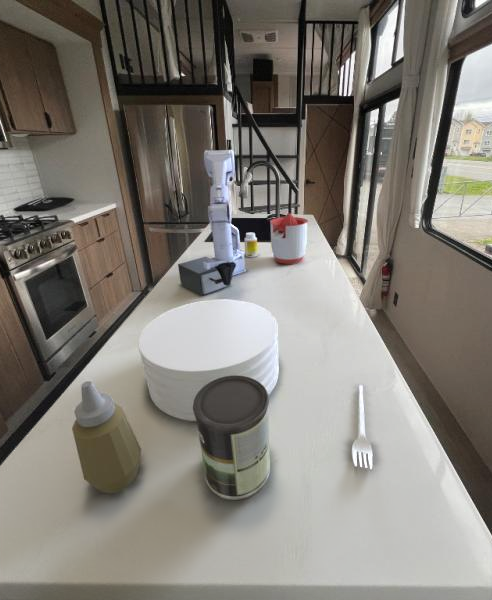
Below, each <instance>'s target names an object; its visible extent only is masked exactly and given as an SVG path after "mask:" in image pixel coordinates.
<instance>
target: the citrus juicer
mask: <svg viewBox="0 0 492 600" xmlns="http://www.w3.org/2000/svg"><path fill="white" fill-rule="evenodd" d="M308 222H309V220H308V219H306V218H304V217H299V216H298V217H297V216H296V217H295V216H293V215H292V214H291V213H290V212H288V213H286V214H285V216H282V217H276V218H273V219H270V221H269V223H270V244H271V251H272V254H273V257H274V260H275V261H276V262H277V263H280V264H286V265H287V264H288V265H294V264H298V263H300V262H302V261H303V259H304V258H305V257H304V256H305V254H306V250H307V242H308Z"/></svg>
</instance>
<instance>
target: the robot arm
mask: <svg viewBox="0 0 492 600" xmlns="http://www.w3.org/2000/svg"><path fill="white" fill-rule="evenodd" d="M203 161H204V168H205V171H206V173H207V175H208V177H210V178H212V180H213V184H212V185H211V186H210V188H209V197H210V198H209V205H208V207H207V215H208V221H209V225H210V230H211V235H212V243H213V253H214V257H212V258H211V259H210V260H208V261H206V262H203V266H204V268H205V269H207V270H208V269H210V268H212V267H215V268H216V269H217V271H218V272H219V274H220V276H221V278H222V281H223V284H224V285H226V286H228V285H229V286H231V283H232V279H233V276H237V275H240V274H242V273H245V272H247V270H246V267H245V266H246V265H245V252H243V250H242V249H241V239H240V231H239V228H238V227H236V226H234V224H232V219H233V218H232V207H231V204H230V203H231V202H230V189H229V183H230V178H232V177H234V176H235V167H236V165H235V153H234V151H233V149H225V150H224V149H223V150H222V149H221V150H206V149H205V150H204V152H203ZM231 278H232V279H231ZM229 286H228V287H229Z"/></svg>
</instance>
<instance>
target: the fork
mask: <svg viewBox="0 0 492 600" xmlns="http://www.w3.org/2000/svg"><path fill="white" fill-rule="evenodd" d="M363 386H364V385H362V384H359V385H358V437H357V438H356V439H355V440H354V441H353V443H352V444H351V445H352V446H351V459H352V462H353V464H354V467H356V468H357V467H358V463H357V462H358V461H357V460H359V466H360V468H361V469H363V464H364V468H365V469H368V467H369V470H373V447H372V445H371V443H370V442H369V440H368V439H367V437H366V421H365V407H364V406H365V405H364V387H363ZM357 457H358V458H357ZM362 458H363V459H362Z"/></svg>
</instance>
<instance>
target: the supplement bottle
mask: <svg viewBox="0 0 492 600" xmlns="http://www.w3.org/2000/svg"><path fill="white" fill-rule="evenodd" d="M258 252H259V251H258V238H257V237H256V233H255V232H246V233H245V237H244V256H245V257H247V258H255V257H258V254H259V253H258Z"/></svg>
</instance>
